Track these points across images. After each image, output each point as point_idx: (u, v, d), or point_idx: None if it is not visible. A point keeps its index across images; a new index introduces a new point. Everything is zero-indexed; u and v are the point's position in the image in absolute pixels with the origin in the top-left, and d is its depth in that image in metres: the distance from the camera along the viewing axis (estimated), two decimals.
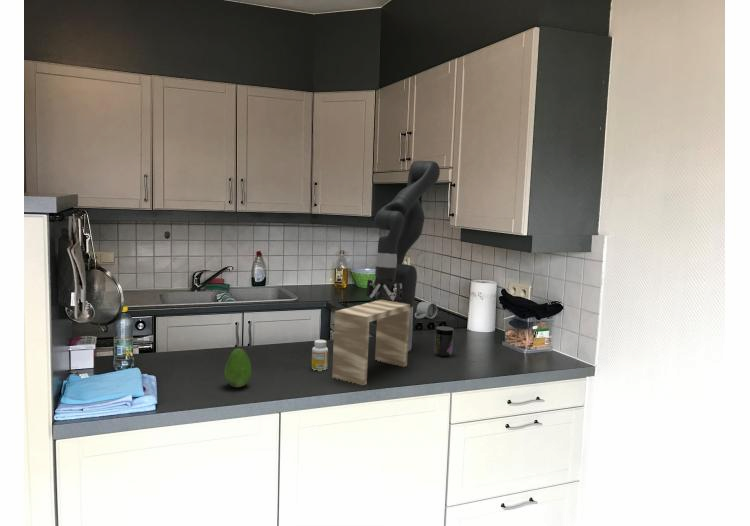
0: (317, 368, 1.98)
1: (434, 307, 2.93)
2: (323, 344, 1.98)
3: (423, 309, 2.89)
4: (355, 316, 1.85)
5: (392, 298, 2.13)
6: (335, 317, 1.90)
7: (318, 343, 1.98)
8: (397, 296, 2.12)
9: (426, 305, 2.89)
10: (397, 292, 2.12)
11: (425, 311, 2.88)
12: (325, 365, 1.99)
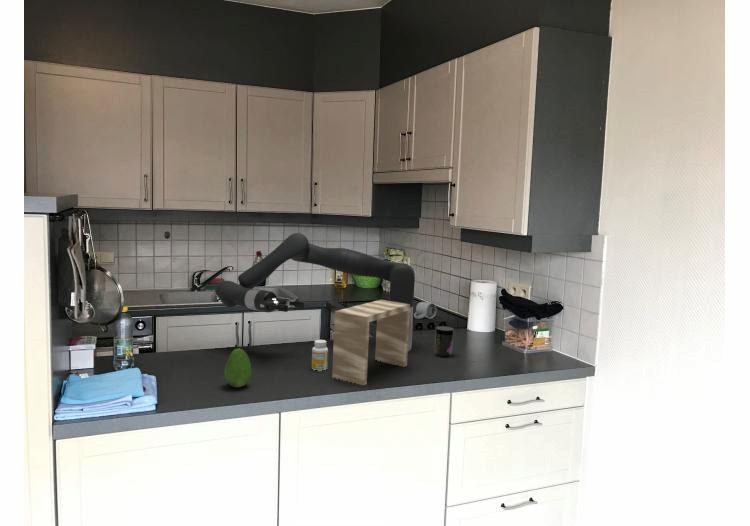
0: (317, 368, 1.98)
1: (433, 307, 2.92)
2: (323, 344, 1.98)
3: (422, 309, 2.88)
4: (355, 316, 1.85)
5: None
6: (335, 317, 1.90)
7: (318, 343, 1.98)
8: None
9: (425, 305, 2.88)
10: None
11: (424, 311, 2.87)
12: (325, 365, 1.99)
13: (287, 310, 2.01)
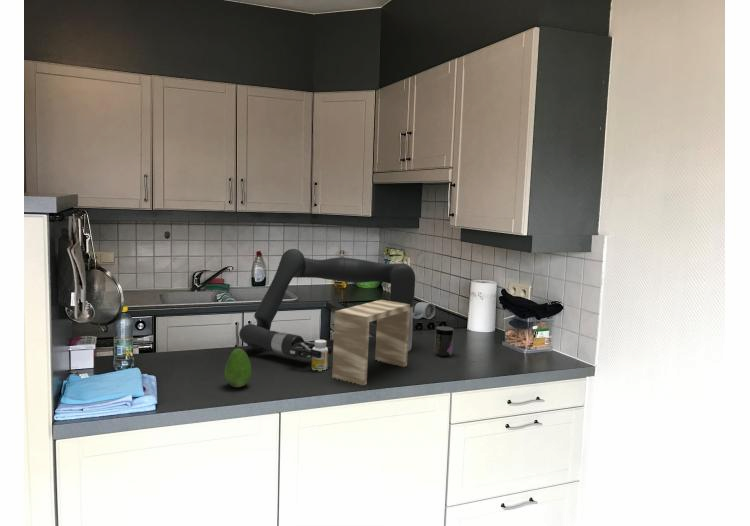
0: (317, 368, 1.98)
1: (432, 307, 2.92)
2: (323, 344, 1.98)
3: (421, 309, 2.88)
4: (355, 316, 1.85)
5: None
6: (335, 317, 1.90)
7: (318, 343, 1.98)
8: None
9: (424, 305, 2.87)
10: None
11: (423, 311, 2.87)
12: (325, 365, 1.99)
13: (320, 356, 1.97)
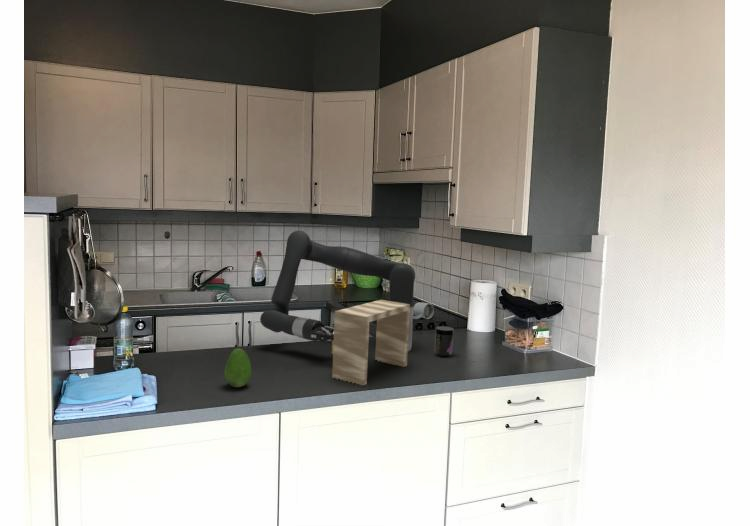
0: None
1: (431, 307, 2.91)
2: None
3: (419, 310, 2.87)
4: (355, 316, 1.85)
5: None
6: (335, 317, 1.90)
7: None
8: None
9: (422, 305, 2.87)
10: None
11: (421, 312, 2.86)
12: None
13: None
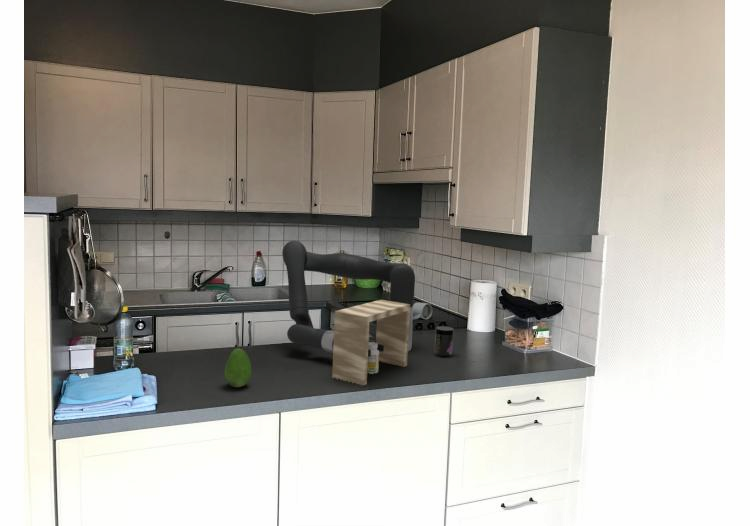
0: (369, 371, 1.98)
1: (429, 308, 2.90)
2: (375, 347, 1.98)
3: (418, 310, 2.86)
4: (355, 316, 1.85)
5: None
6: (335, 317, 1.90)
7: (370, 346, 1.98)
8: None
9: (421, 306, 2.86)
10: None
11: (420, 312, 2.85)
12: (376, 368, 1.99)
13: (370, 355, 1.95)
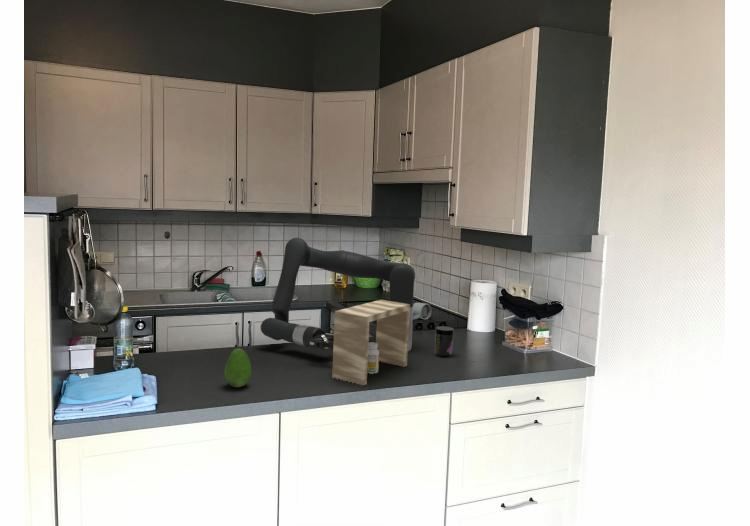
0: (369, 371, 1.98)
1: (428, 308, 2.90)
2: (375, 347, 1.98)
3: (417, 310, 2.86)
4: (355, 316, 1.85)
5: None
6: (335, 317, 1.90)
7: (370, 346, 1.98)
8: None
9: (420, 306, 2.86)
10: None
11: (419, 312, 2.85)
12: (376, 368, 1.99)
13: None
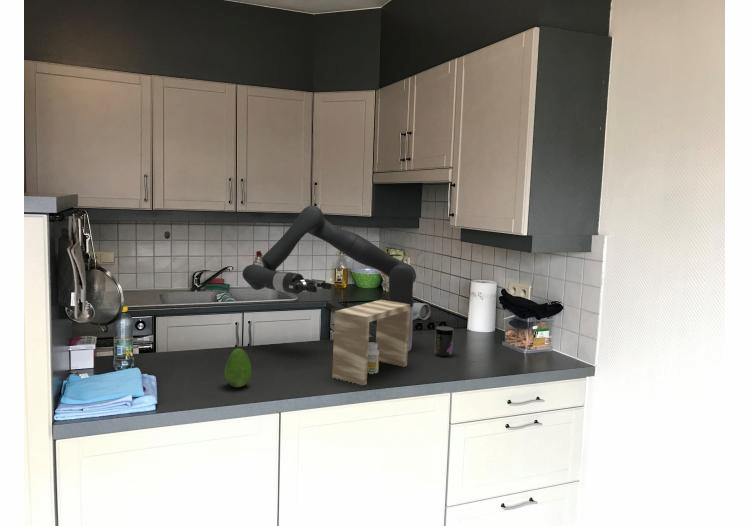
0: (369, 371, 1.98)
1: (427, 308, 2.89)
2: (375, 347, 1.98)
3: (416, 310, 2.85)
4: (355, 316, 1.85)
5: None
6: (335, 317, 1.90)
7: (370, 346, 1.98)
8: None
9: (419, 306, 2.85)
10: None
11: (418, 312, 2.84)
12: (376, 368, 1.99)
13: (316, 291, 2.05)
